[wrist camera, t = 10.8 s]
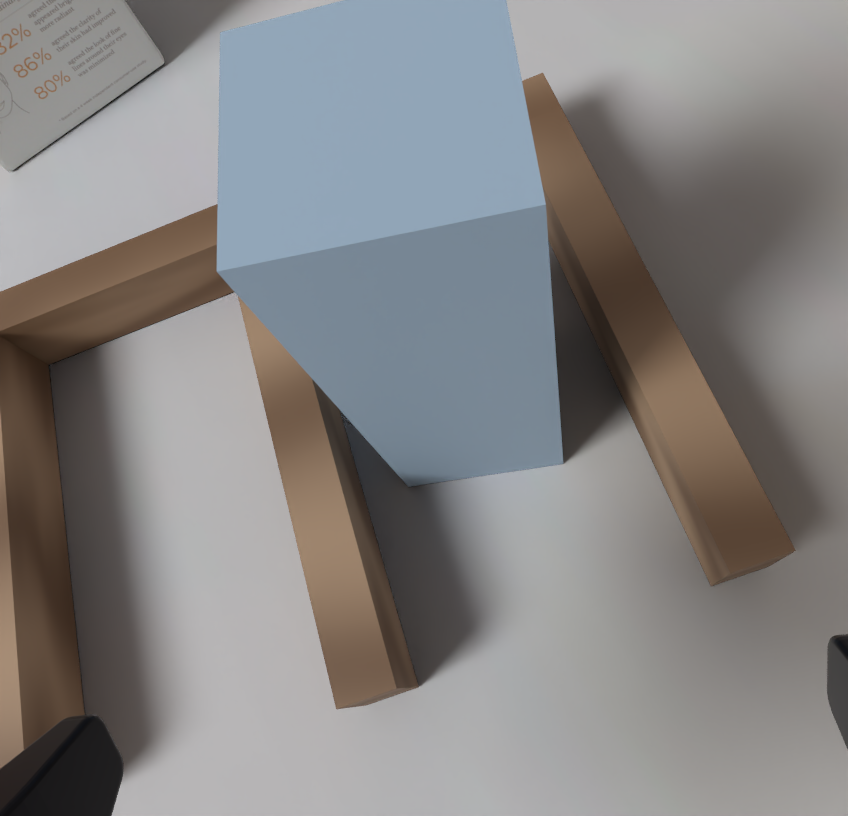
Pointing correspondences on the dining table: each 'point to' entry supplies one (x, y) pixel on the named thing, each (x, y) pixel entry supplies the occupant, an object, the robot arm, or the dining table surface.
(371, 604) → the comb rack
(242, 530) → the dining table surface
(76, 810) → the robot arm
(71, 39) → the small box
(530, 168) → the pale blue tall block
